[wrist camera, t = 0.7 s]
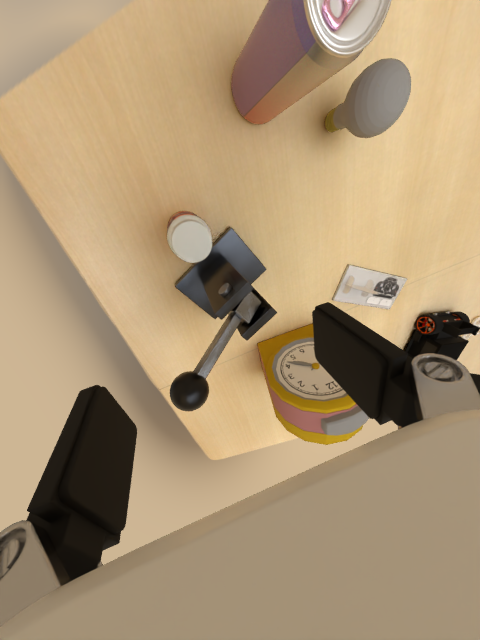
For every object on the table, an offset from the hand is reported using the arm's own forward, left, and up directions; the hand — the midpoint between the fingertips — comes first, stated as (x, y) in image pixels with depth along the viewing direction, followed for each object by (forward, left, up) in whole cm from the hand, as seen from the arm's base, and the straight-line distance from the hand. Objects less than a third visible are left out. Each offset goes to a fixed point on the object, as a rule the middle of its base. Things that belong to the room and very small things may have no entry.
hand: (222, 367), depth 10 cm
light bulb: (+2, +24, -24) cm, 34 cm away
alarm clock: (+26, 0, -24) cm, 36 cm away
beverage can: (-6, +18, -24) cm, 31 cm away
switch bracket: (+6, +1, -24) cm, 25 cm away
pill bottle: (-2, +2, -24) cm, 25 cm away
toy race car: (+56, +23, -24) cm, 65 cm away
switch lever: (+6, -4, -12) cm, 14 cm away
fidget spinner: (+66, +37, -24) cm, 80 cm away
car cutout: (+29, +19, -24) cm, 42 cm away
